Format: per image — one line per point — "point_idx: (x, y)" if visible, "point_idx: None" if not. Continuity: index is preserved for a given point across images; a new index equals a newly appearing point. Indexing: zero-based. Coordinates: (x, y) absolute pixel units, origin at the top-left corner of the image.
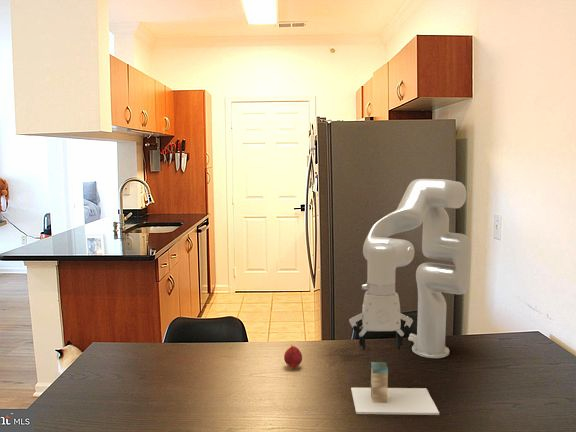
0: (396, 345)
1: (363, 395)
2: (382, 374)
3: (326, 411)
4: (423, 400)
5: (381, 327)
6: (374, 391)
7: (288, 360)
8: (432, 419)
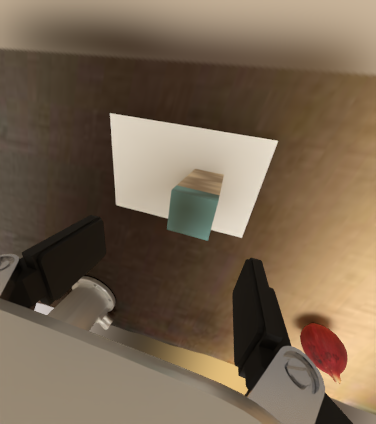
0: (99, 246)
1: (230, 205)
2: (192, 187)
3: (343, 163)
4: (128, 165)
5: (50, 409)
6: (218, 180)
7: (340, 341)
8: (127, 96)
